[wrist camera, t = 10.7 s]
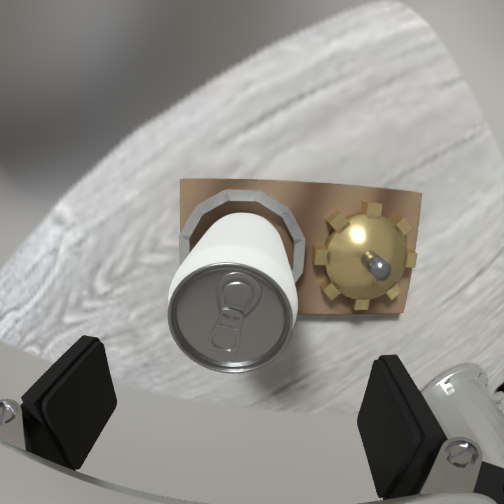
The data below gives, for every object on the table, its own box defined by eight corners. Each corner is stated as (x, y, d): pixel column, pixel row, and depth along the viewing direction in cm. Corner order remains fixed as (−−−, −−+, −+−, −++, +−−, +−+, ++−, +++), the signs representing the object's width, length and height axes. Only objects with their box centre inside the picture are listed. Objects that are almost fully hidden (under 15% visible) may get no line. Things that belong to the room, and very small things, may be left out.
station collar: (306, 191, 24) (308, 192, 23) (297, 306, 26) (299, 312, 25) (182, 188, 24) (178, 189, 23) (185, 301, 26) (182, 307, 25)
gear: (414, 205, 24) (442, 213, 19) (400, 302, 26) (421, 324, 22) (315, 197, 24) (328, 204, 19) (307, 302, 26) (315, 327, 22)
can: (293, 224, 24) (324, 276, 13) (269, 297, 26) (276, 392, 15) (213, 201, 24) (172, 234, 13) (194, 277, 26) (150, 359, 14)
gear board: (414, 191, 25) (421, 193, 23) (397, 306, 28) (403, 312, 26) (184, 178, 25) (180, 179, 24) (187, 301, 28) (183, 308, 27)
